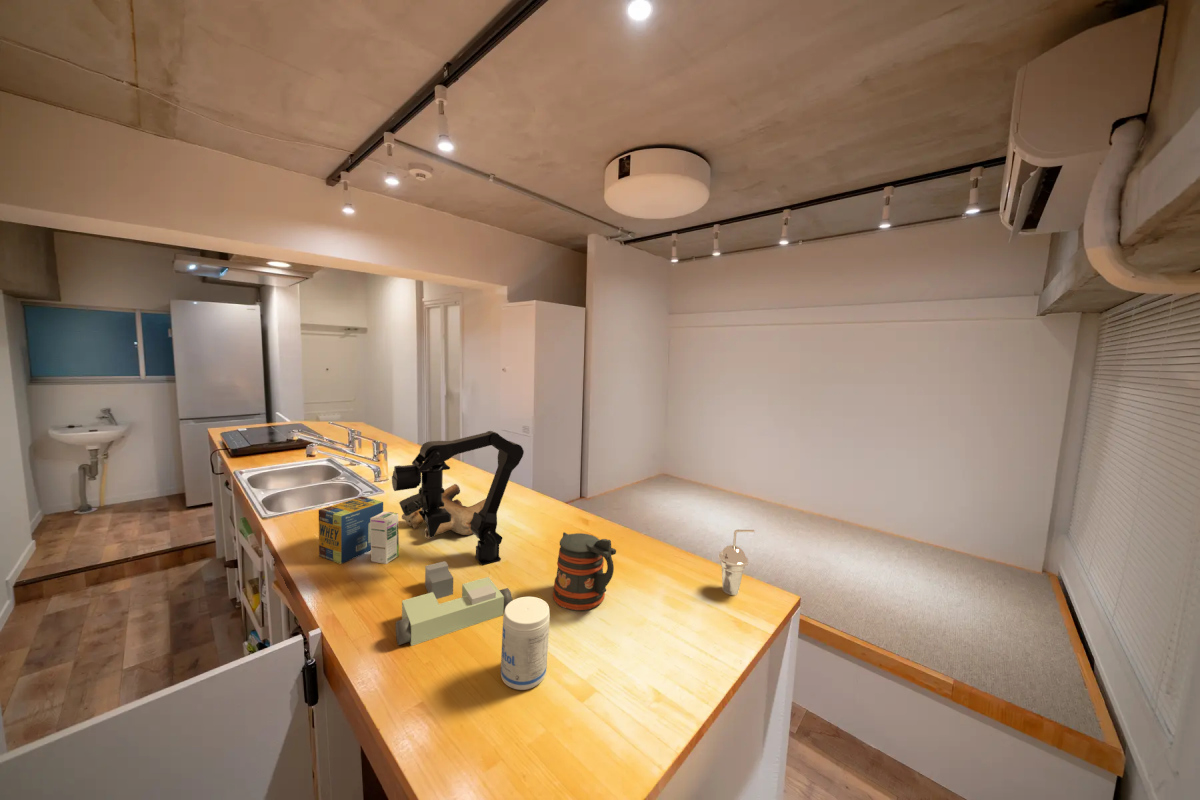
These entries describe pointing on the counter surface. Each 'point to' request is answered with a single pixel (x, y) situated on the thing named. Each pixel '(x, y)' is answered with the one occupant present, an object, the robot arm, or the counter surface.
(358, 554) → the protein box
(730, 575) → the cup with straw
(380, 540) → the syrup box
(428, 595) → the green roller block
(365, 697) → the counter surface
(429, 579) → the grey stepped block
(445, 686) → the counter surface
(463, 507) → the tan knobby branched lump
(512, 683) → the supplement tub
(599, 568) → the beer stein
